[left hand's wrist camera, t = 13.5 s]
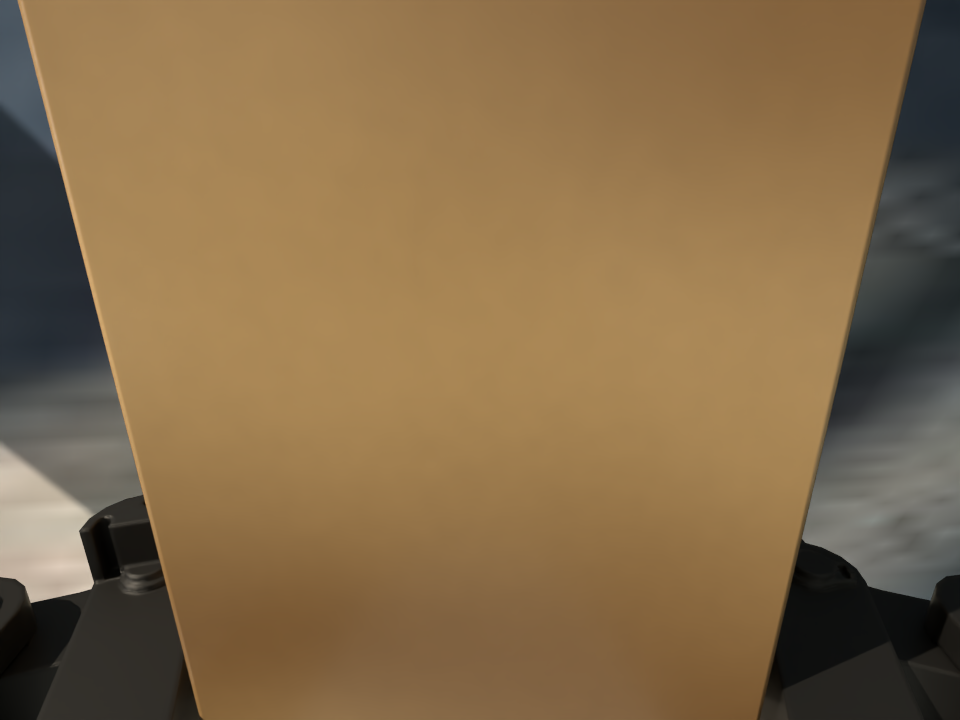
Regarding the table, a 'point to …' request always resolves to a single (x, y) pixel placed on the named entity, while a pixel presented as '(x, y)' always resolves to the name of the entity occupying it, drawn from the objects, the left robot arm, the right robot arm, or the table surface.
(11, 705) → the left robot arm
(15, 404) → the table surface
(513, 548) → the oak beam
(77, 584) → the table surface
